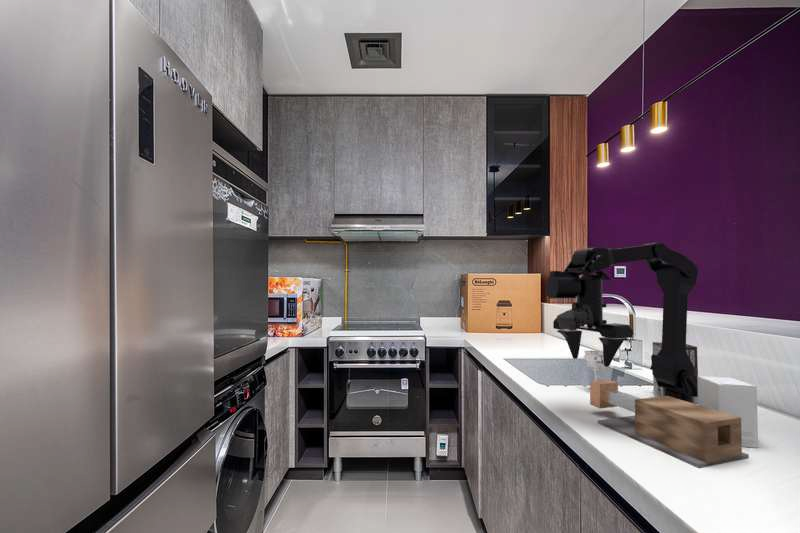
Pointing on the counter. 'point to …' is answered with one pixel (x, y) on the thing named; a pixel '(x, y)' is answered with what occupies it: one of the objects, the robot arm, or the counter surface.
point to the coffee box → (692, 355)
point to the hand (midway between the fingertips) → (590, 362)
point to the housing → (683, 430)
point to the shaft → (610, 395)
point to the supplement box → (732, 403)
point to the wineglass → (594, 361)
